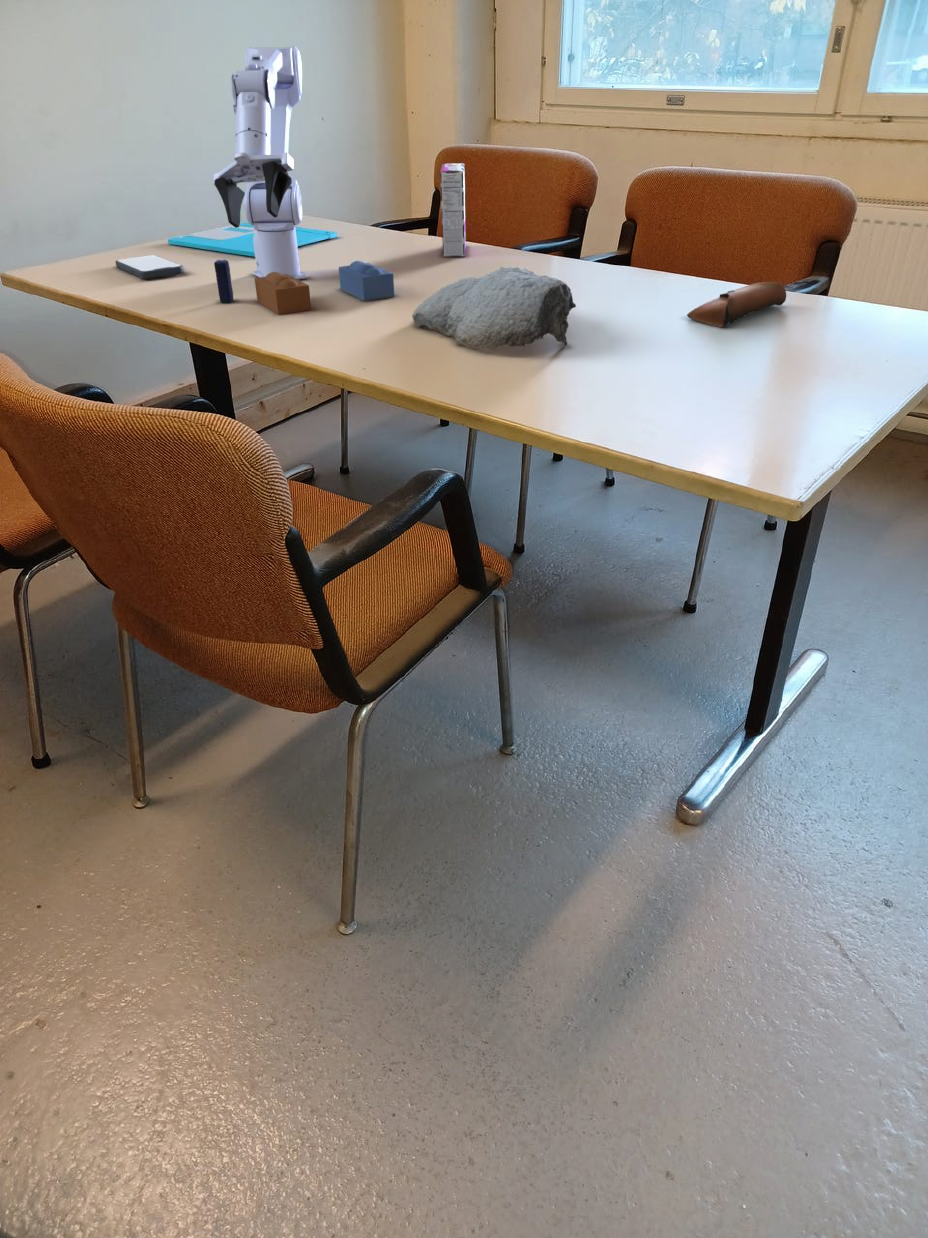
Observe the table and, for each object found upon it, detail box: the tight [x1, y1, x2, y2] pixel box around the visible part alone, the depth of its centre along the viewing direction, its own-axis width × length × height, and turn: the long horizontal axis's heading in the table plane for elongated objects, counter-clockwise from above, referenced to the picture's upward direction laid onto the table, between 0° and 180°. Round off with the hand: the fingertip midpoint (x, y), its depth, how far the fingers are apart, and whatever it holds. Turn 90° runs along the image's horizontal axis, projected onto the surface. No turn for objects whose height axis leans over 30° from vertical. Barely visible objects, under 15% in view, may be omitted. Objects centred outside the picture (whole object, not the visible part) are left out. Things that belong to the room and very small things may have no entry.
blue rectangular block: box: [338, 260, 395, 302], centre depth 159 cm, size 10×6×5 cm, turn 31°
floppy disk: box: [167, 221, 338, 258], centre depth 200 cm, size 26×28×1 cm
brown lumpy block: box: [254, 272, 312, 315], centre depth 152 cm, size 10×6×5 cm, turn 31°
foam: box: [411, 266, 577, 349], centre depth 137 cm, size 28×21×9 cm
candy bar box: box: [439, 162, 467, 258], centre depth 185 cm, size 11×5×16 cm, turn 179°
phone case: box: [115, 254, 185, 280], centre depth 176 cm, size 9×2×16 cm
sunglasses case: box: [686, 281, 787, 329], centre depth 146 cm, size 18×7×7 cm, turn 135°
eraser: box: [213, 259, 234, 304], centre depth 154 cm, size 2×2×7 cm
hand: (252, 219), depth 146 cm, fingers open, 7 cm apart
